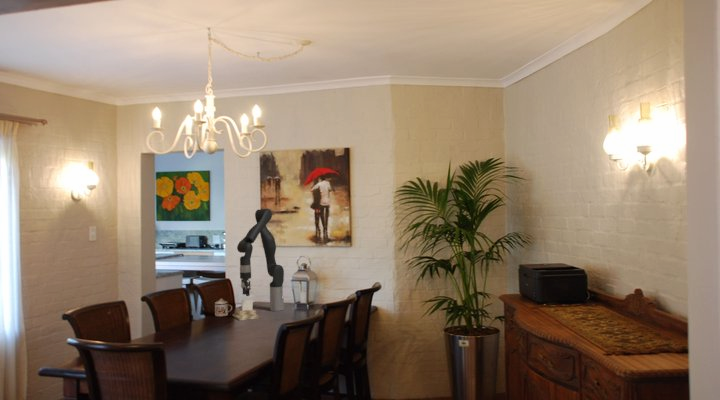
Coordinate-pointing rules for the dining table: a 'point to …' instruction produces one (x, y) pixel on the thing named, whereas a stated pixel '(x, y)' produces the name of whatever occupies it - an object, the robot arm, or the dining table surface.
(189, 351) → the dining table surface
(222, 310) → the teacup with lid
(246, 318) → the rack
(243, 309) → the tile
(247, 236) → the robot arm
